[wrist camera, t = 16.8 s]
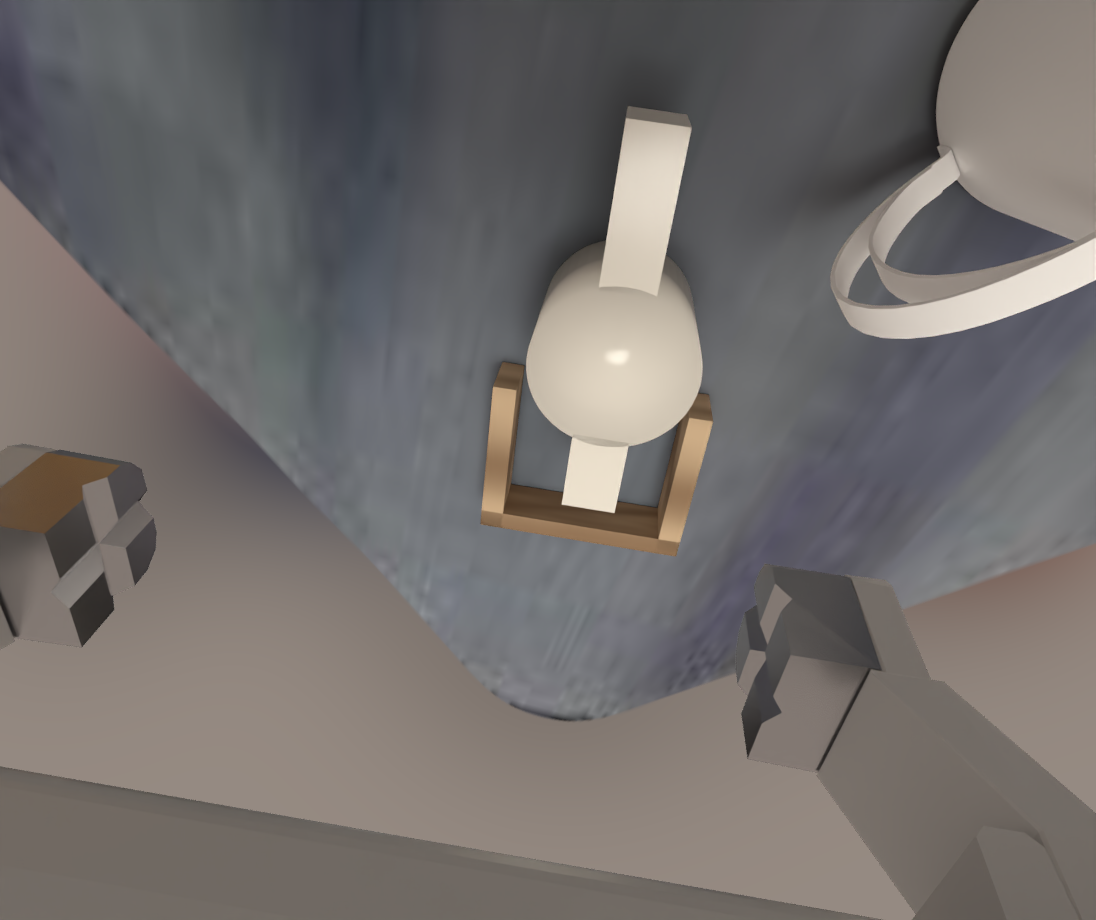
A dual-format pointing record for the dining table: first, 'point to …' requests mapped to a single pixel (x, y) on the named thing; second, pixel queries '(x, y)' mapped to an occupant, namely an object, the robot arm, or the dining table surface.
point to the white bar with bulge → (621, 321)
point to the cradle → (550, 517)
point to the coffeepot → (997, 169)
